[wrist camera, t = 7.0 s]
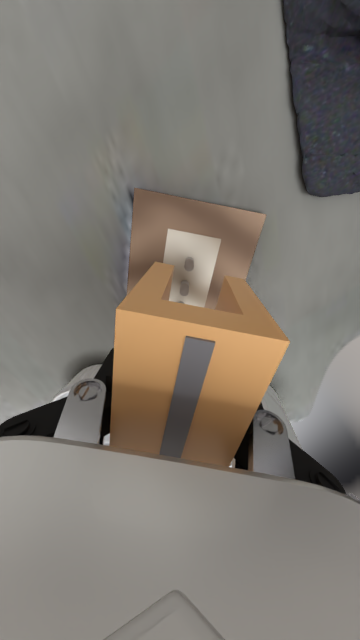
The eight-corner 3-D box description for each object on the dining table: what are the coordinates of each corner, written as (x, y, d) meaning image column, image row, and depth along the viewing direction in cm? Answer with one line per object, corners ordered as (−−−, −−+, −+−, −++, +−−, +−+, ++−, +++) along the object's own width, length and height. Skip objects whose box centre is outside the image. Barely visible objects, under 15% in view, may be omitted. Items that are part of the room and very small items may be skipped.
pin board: (220, 347, 32) (224, 367, 28) (126, 330, 31) (117, 347, 27) (262, 214, 24) (276, 214, 20) (137, 189, 23) (126, 184, 19)
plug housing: (200, 412, 15) (203, 521, 10) (137, 401, 15) (105, 505, 10) (244, 279, 11) (291, 343, 6) (155, 261, 11) (114, 310, 5)
